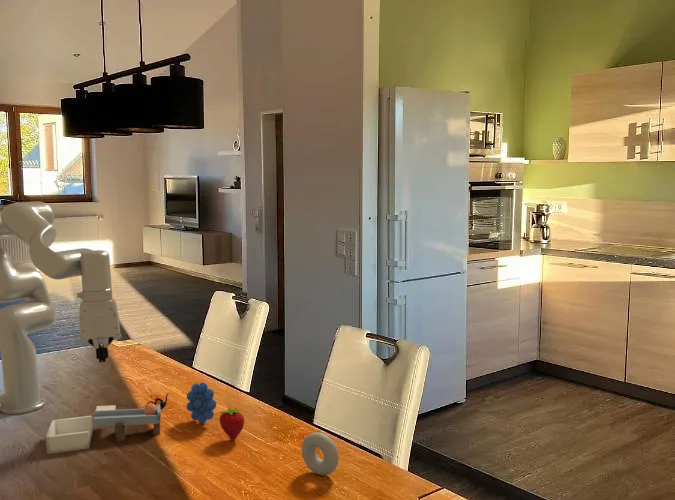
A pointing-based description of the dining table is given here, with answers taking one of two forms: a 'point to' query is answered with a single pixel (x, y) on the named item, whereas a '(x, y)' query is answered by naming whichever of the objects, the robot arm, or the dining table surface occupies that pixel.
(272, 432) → the dining table surface
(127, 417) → the lever
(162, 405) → the creature
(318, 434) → the donut
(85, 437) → the tray
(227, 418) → the strawberry
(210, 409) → the grapes
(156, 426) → the post
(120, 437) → the pivot stand
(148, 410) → the ball
